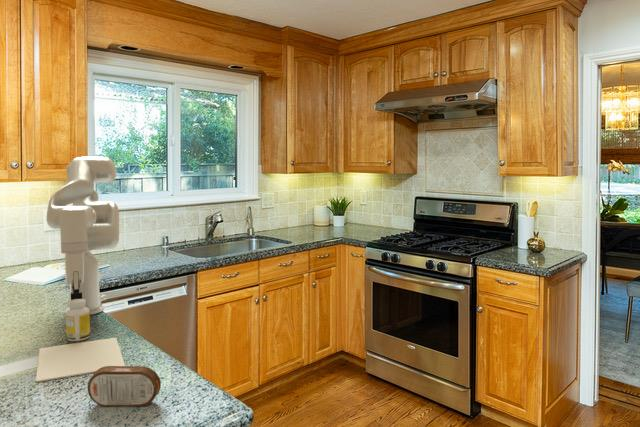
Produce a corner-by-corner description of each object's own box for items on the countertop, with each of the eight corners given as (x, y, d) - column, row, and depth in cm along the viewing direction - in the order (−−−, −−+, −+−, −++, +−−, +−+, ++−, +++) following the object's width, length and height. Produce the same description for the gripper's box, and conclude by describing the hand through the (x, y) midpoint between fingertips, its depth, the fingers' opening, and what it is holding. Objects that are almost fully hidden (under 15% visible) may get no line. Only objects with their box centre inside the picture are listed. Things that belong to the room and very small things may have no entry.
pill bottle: (94, 334, 150) (92, 297, 149) (84, 342, 144) (83, 303, 143) (72, 334, 150) (71, 297, 149) (62, 342, 144) (60, 303, 143)
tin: (161, 401, 108) (160, 364, 107) (157, 408, 105) (156, 370, 104) (92, 402, 107) (91, 364, 106) (86, 408, 104) (84, 370, 103)
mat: (39, 349, 138) (39, 348, 138) (116, 338, 147) (116, 337, 147) (35, 382, 116) (35, 380, 116) (125, 367, 126) (125, 365, 126)
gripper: (61, 245, 157) (63, 301, 158) (60, 251, 144) (63, 312, 145) (86, 243, 160) (88, 298, 162) (89, 249, 147) (91, 309, 149)
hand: (76, 305), depth 153 cm, fingers closed
